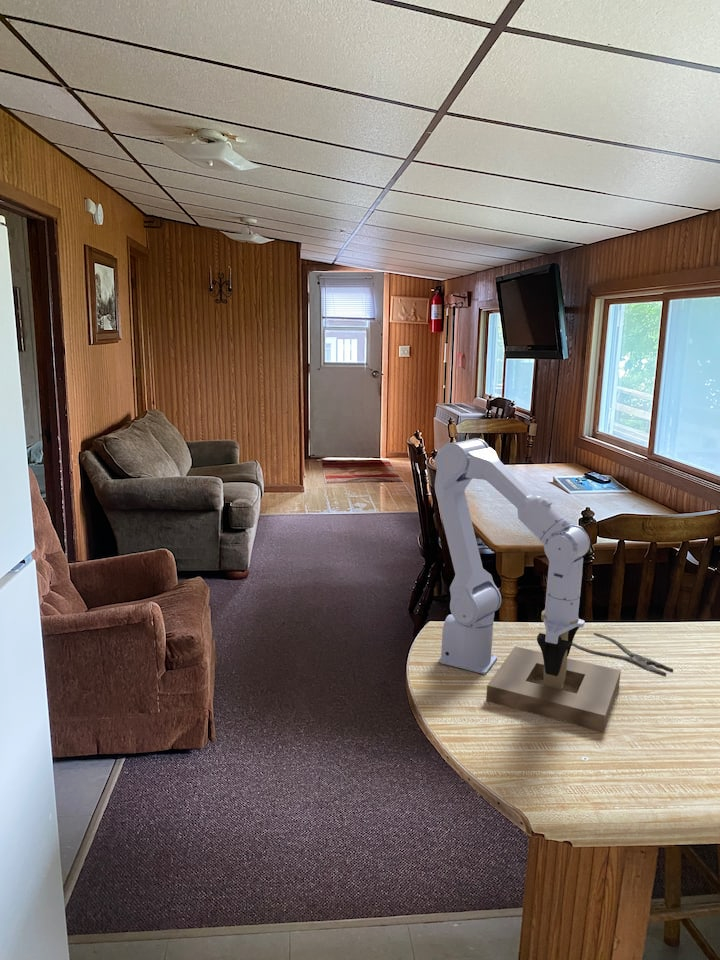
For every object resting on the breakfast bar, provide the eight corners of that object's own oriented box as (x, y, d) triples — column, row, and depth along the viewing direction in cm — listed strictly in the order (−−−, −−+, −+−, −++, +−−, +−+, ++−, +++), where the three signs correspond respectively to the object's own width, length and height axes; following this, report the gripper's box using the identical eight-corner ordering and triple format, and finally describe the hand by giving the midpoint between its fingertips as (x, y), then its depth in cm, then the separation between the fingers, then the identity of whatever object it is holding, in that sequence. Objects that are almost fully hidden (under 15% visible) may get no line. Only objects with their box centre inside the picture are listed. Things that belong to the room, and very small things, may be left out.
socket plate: (486, 700, 125) (487, 685, 125) (513, 660, 141) (514, 646, 140) (603, 732, 116) (605, 715, 116) (619, 685, 132) (620, 670, 131)
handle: (540, 681, 132) (547, 606, 129) (574, 692, 129) (582, 615, 126) (531, 692, 128) (537, 615, 125) (565, 703, 125) (573, 624, 122)
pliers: (587, 629, 155) (683, 657, 143) (586, 633, 155) (682, 661, 143) (569, 643, 148) (668, 674, 135) (568, 647, 148) (668, 678, 136)
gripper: (578, 612, 116) (571, 688, 119) (593, 585, 129) (587, 654, 132) (535, 604, 120) (529, 678, 122) (554, 578, 132) (549, 646, 135)
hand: (556, 665), depth 127 cm, fingers open, 7 cm apart
